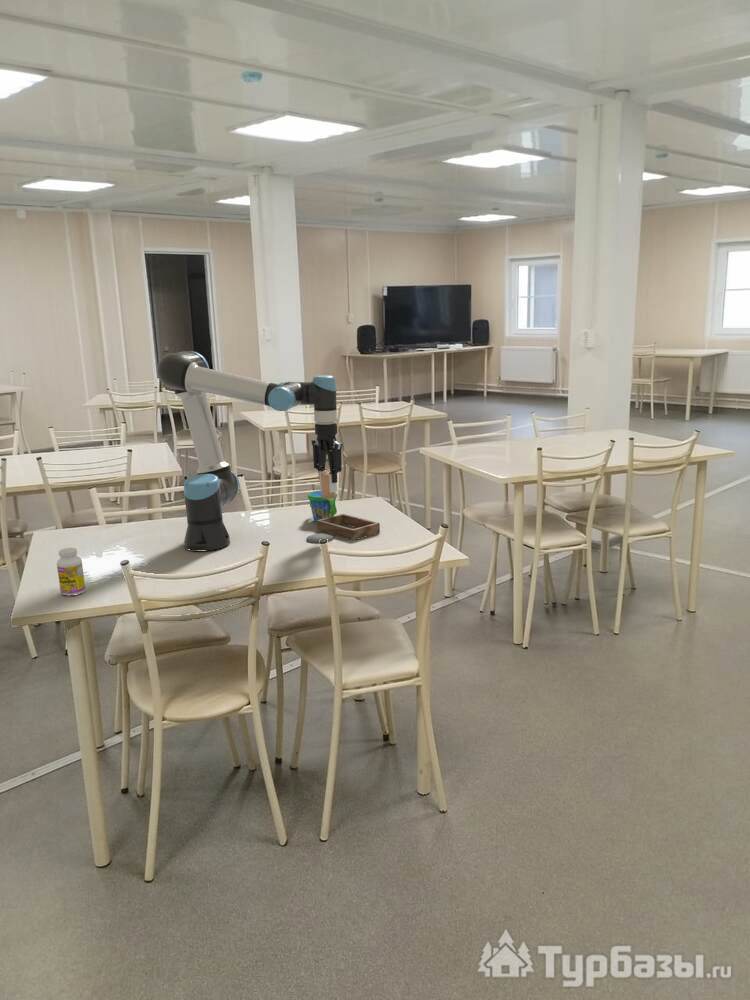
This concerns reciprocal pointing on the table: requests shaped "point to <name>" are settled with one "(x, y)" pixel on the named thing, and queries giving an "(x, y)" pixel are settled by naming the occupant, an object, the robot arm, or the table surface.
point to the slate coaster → (319, 537)
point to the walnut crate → (334, 528)
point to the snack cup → (322, 505)
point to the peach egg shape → (326, 487)
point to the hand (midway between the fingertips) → (328, 490)
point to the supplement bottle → (70, 572)
